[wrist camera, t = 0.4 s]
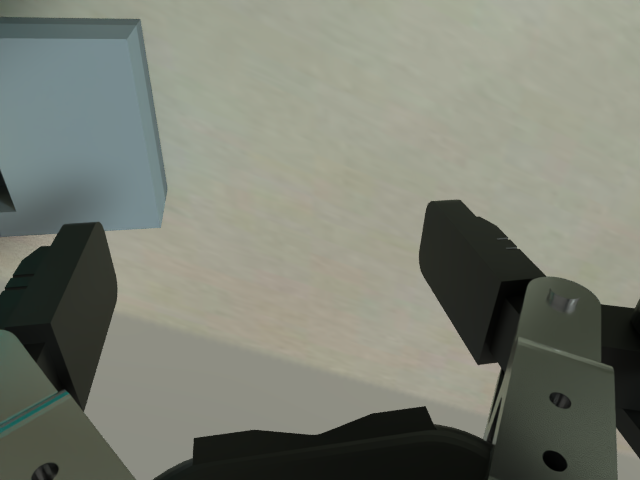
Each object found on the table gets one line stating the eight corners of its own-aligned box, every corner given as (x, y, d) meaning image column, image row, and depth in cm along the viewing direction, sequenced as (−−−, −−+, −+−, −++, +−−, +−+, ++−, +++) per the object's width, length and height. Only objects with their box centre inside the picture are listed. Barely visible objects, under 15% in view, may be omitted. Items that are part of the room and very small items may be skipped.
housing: (-174, 14, 22) (-251, 36, 18) (140, 19, 24) (127, 39, 21) (-79, 199, 28) (-124, 244, 24) (167, 188, 30) (160, 227, 26)
